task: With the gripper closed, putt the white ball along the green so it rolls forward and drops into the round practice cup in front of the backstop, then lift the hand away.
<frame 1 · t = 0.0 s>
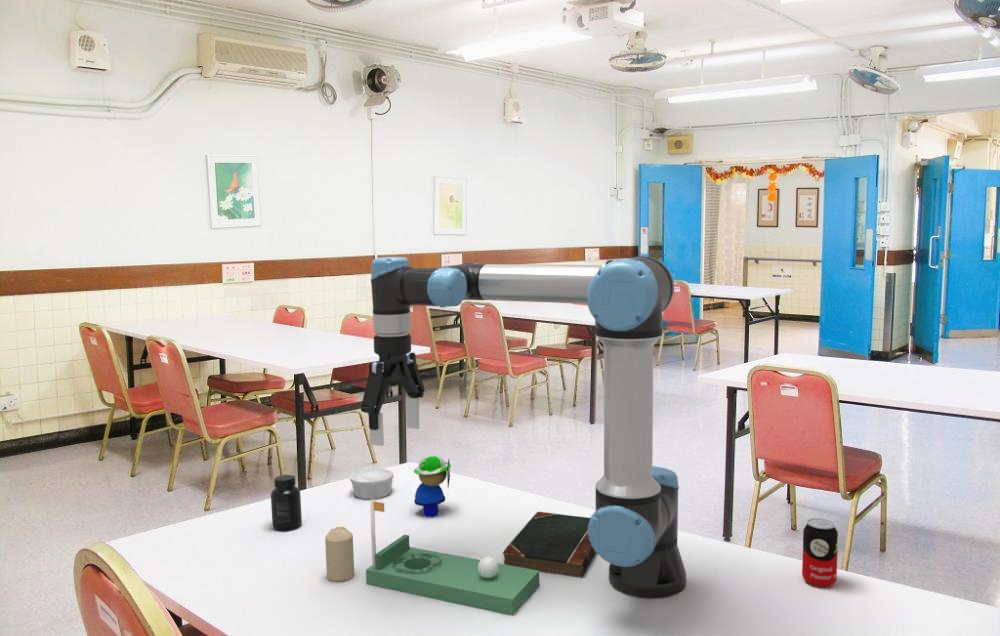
hand: (395, 436, 164), 28 cm above the table, fingers open, 13 cm apart
toy: (433, 513, 198), on the table
ramekin: (372, 494, 213), on the table
green: (452, 584, 159), on the table
beverage can: (818, 582, 158), on the table
ball: (488, 567, 155), point 5 cm above the table, touching green
candle: (340, 576, 164), on the table
supplement bottle: (287, 527, 191), on the table
book: (557, 551, 176), on the table
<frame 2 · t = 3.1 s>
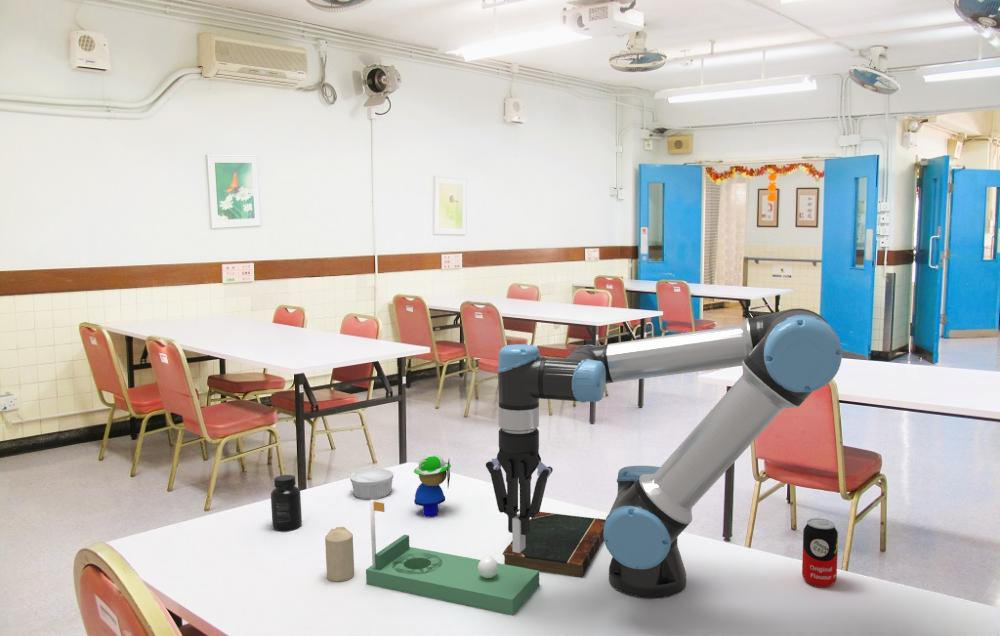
hand: (519, 549, 151), 10 cm above the table, fingers closed
nothing on the table moved.
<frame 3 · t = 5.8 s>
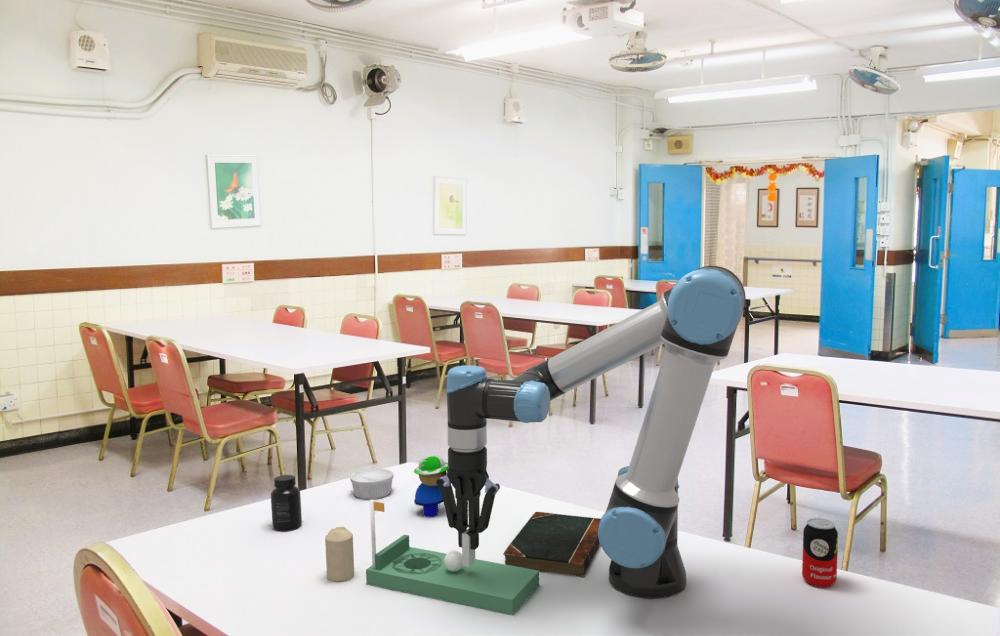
hand: (468, 563, 157), 5 cm above the table, fingers closed
ball: (454, 561, 158), point 5 cm above the table, tilted 149°, touching green
everything else where it was.
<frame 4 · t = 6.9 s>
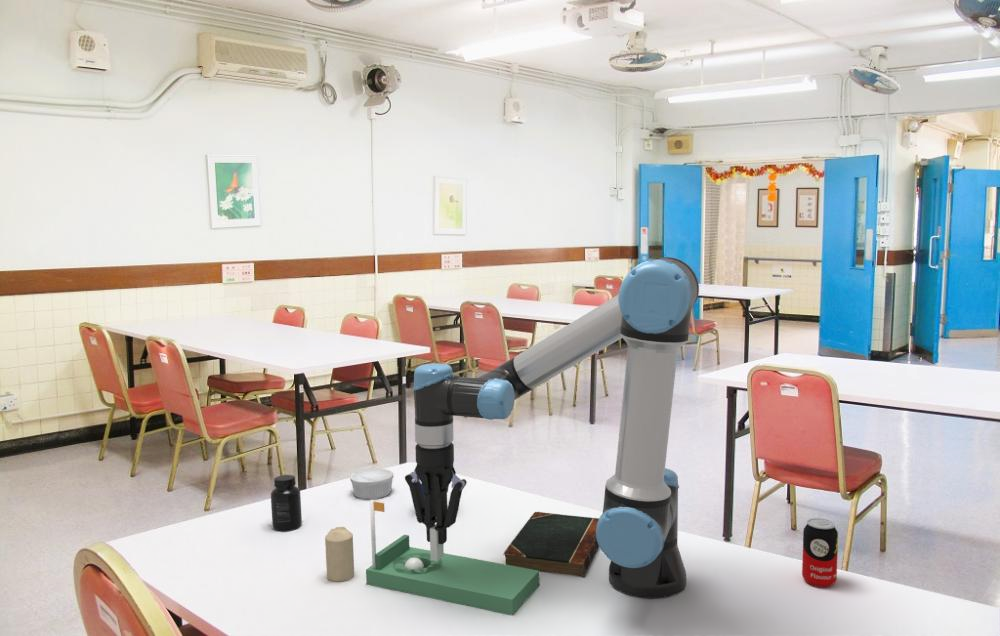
hand: (437, 557, 160), 5 cm above the table, fingers closed
ball: (413, 567, 162), point 2 cm above the table, tilted 152°
everything else where it was.
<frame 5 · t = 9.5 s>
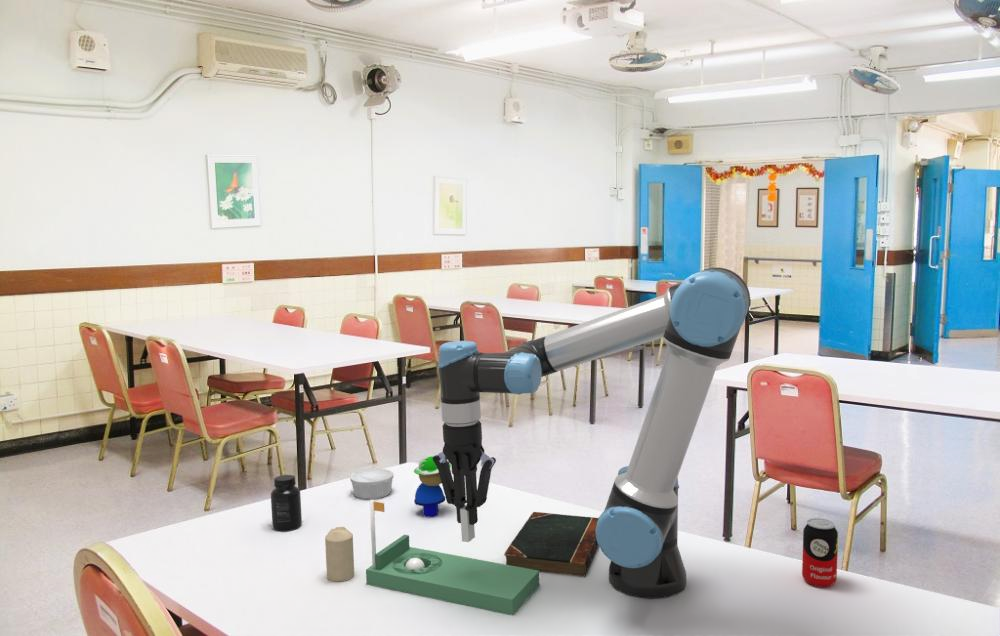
hand: (468, 539, 157), 10 cm above the table, fingers closed
ball: (414, 568, 162), point 2 cm above the table, tilted 146°
everything else where it was.
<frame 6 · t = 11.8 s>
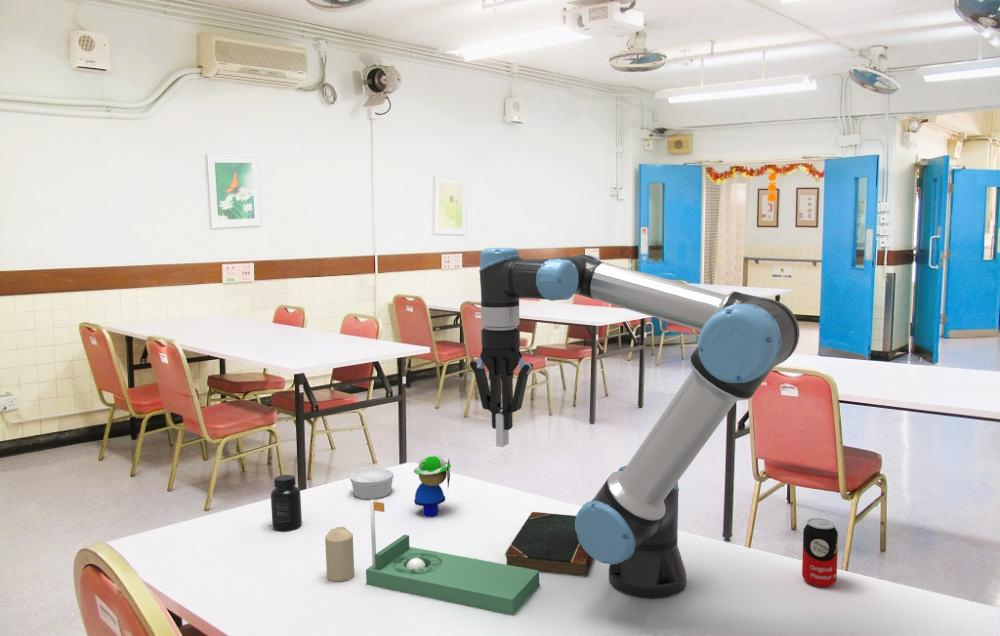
hand: (502, 444, 159), 27 cm above the table, fingers closed
ball: (415, 568, 162), point 2 cm above the table, tilted 140°
everything else where it was.
at the end: ball 0.3 cm from the target spot in the green, point 2.0 cm above the green's base; the gripper is holding nothing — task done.
